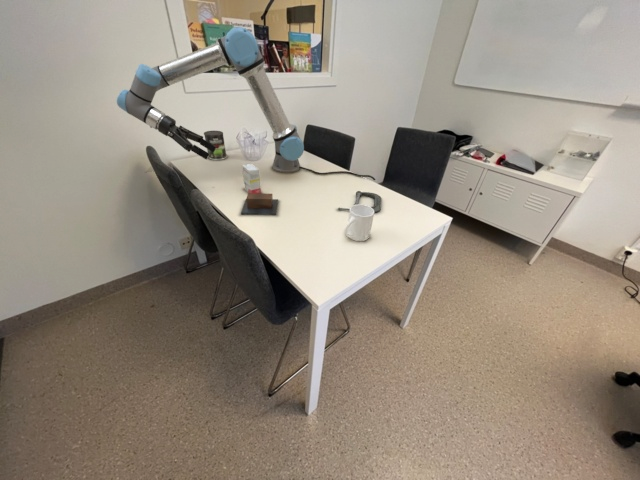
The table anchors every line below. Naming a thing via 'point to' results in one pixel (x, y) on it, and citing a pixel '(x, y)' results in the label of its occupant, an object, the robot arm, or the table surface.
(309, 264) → the table surface
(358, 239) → the mug
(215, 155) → the coffee can
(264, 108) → the robot arm
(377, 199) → the c clamp
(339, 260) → the table surface
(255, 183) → the ink box
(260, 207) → the stand
